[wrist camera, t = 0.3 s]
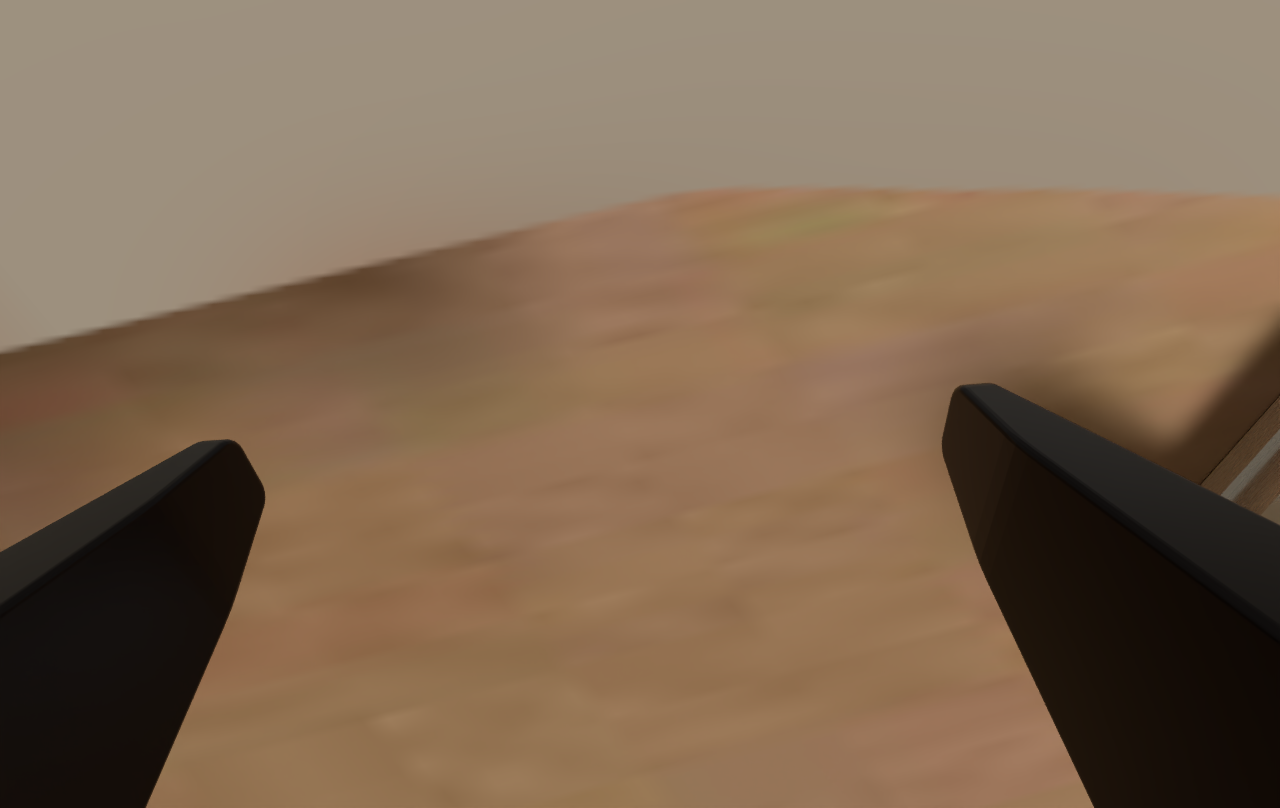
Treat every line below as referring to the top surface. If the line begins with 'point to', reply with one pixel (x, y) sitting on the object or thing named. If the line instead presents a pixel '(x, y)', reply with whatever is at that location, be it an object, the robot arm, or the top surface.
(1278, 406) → the gauge frame
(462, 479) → the top surface
